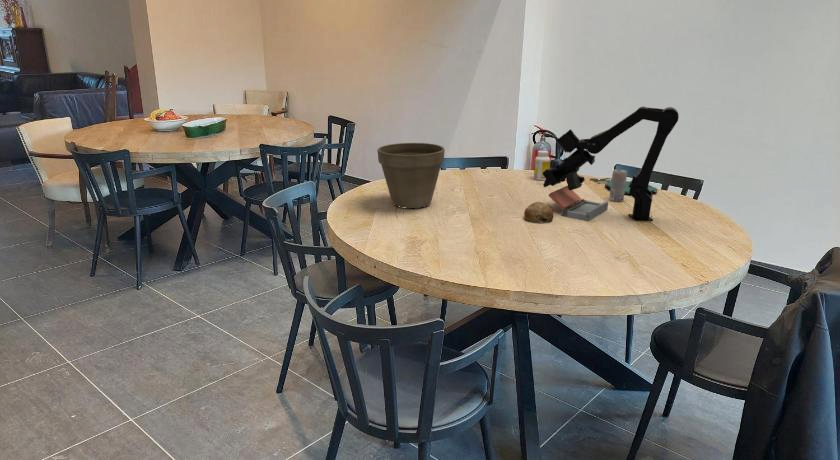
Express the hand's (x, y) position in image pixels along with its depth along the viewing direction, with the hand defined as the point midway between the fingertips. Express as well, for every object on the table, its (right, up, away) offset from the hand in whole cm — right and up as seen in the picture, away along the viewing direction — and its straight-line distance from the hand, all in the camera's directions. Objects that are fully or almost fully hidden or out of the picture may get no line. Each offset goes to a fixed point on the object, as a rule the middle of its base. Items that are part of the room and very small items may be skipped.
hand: (544, 186), depth 212 cm
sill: (+10, -9, -5) cm, 14 cm away
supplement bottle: (+8, +6, +41) cm, 43 cm away
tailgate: (+10, -7, -6) cm, 13 cm away
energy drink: (+31, -5, +9) cm, 32 cm away
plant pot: (-51, -7, +1) cm, 52 cm away
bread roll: (-6, -13, -15) cm, 21 cm away
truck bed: (+14, -10, -8) cm, 19 cm away
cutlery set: (+41, +1, +29) cm, 50 cm away
